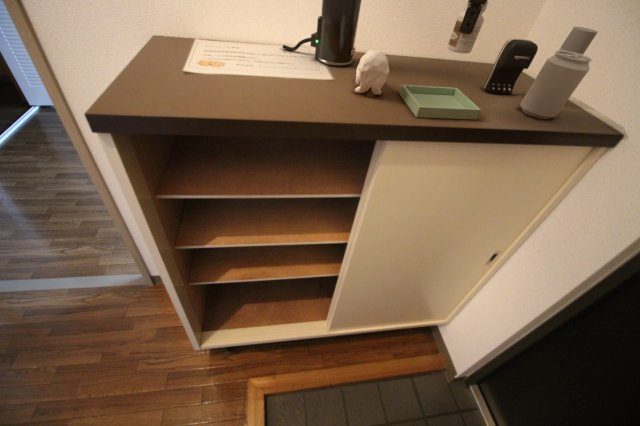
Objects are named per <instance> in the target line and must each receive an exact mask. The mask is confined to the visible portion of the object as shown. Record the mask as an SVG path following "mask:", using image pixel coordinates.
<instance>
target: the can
mask: <svg viewBox="0 0 640 426" xmlns="http://www.w3.org/2000/svg"><path fill="white" fill-rule="evenodd" d="M592 61H593V60H592V58H591V57H589V56H587V55H584V54H583V55H581V54H578V53H574V52H569V51H561V50H560V51H559V50H556V51H555V52H554V55H552V56H550V57H547V59H546V60H545V62H544V63H543V65H542V67H541V68H540V70H539V72H538V73H537V75H536V77H535V79H534V80H533V81H532V84H531V85H530V87H529V89H528V90H527V91H526V93H525V95H524V96H523V99H522V100H521V102H520V108H521V110H522V112H523V113H524V114H526V115H528V116H529V117H533V118H536V119H540V120H541V119H542V120H548V119H550V118H551V119H552V118H554V117H557V116H558V114H559V113H560V112H561V110H562V109H563V107H564V106H565V105H566V103H567V102H568V100H569V99H570V97H571V96H572V94H573V93H574V92H575V90H576V89H577V88H578V86H579V85H580V84H581V82H582V81H583V79H584V78H585V77H586V75H587V74H588V73H589V71H590V62H592Z"/></svg>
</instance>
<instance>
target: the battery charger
mask: <svg viewBox="0 0 640 426" xmlns="http://www.w3.org/2000/svg"><path fill="white" fill-rule="evenodd" d="M538 46H539V45H538V44H537V43H535V42H534V41H532V40H530V39H525V38H510V39H508V40H507V41H505V42H504V44H503V45H502V47H501V49H500V50H499V53H498V55H497V56H496V58H495V62H494V63H493V66H492V68H491V70H490V72H489V75H488V77H487V79H486V81H485V83H484V84H483V89H484V90H485V91H487V92H488V93H492V94H501V95H511V94H512V92H513V91H514V88H515V85H516V83H517V81H518V79H519V77H520V76H521V74H522V72H523V71H524V70H528V69H529V68H530V66H531V64H532V62H533V60H534V59H535V57H536V55H537V53H538V50H539V47H538Z"/></svg>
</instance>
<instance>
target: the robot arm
mask: <svg viewBox="0 0 640 426" xmlns="http://www.w3.org/2000/svg"><path fill="white" fill-rule="evenodd" d="M487 1H488V0H468V8H467V10H466V13H465V16H464V18H463V21H462V24H461V26H460V29H459V32H460V33H464V34H471V33H472V32H473V29H474V27H475V24H476V22H477V19H478V17H479V14H480V12H481V9H482V8H483V7H484V6H485V4H486V3H487ZM361 6H362V0H322V1H321V14H320V15H319V16H318V17H317V24H316V32H313V33H311V35H310V37H307V38H304V39H301V40H300V41H298V42H297V44H296V45H294V46H288V45H286V44H282V49H284V50H286V51H290V52H295V51H297V50H298V49H299V48H300V47H301V46H302V45H304V44H306V43H310V47H312V48H315V50H314V60H316V61H319V62H320V63H322V64H325V65H328V66H333V67H346V66H350V65H352V63H353V57H354V53H356V49H357V48H356V46H355V44H356V37H357V32H358V25H359V18H360V13H361V12H360V11H361ZM470 6H471V7H470Z"/></svg>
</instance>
